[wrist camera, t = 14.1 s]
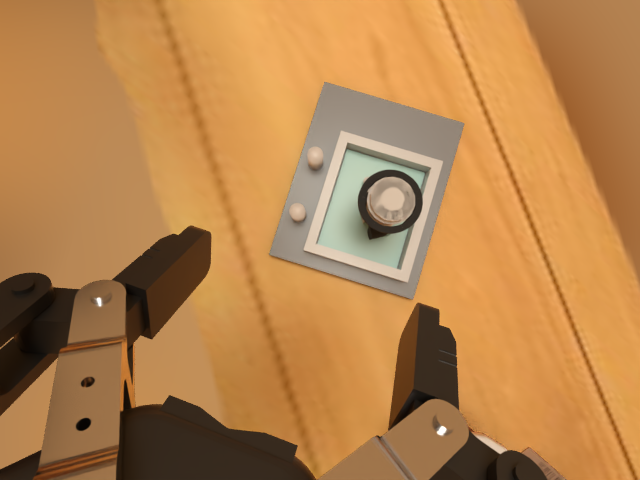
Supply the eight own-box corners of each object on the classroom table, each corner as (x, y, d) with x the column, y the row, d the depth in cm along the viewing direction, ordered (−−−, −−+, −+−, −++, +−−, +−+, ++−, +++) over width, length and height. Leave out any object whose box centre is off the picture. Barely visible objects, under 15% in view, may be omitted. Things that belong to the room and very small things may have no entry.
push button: (342, 185, 40) (348, 158, 30) (390, 174, 40) (413, 143, 30) (356, 245, 39) (367, 238, 29) (405, 234, 39) (433, 223, 29)
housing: (270, 254, 40) (264, 253, 36) (324, 86, 42) (324, 67, 38) (410, 298, 40) (420, 302, 36) (461, 126, 41) (475, 111, 37)
